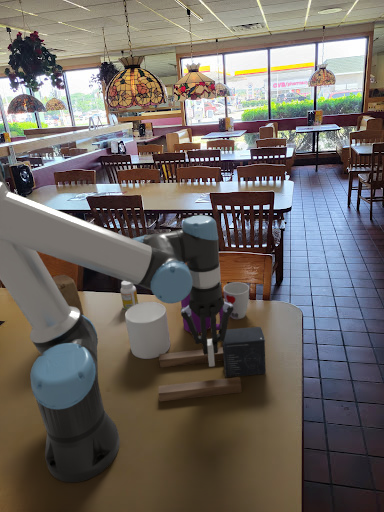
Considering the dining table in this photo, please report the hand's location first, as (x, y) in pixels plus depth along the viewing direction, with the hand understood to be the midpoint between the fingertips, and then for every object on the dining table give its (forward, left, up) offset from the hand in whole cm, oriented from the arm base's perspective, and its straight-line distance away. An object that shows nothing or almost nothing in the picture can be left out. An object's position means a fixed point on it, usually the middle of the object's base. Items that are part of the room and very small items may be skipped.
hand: (211, 362), depth 98 cm
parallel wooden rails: (0, +4, -4) cm, 5 cm away
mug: (+21, 0, -4) cm, 21 cm away
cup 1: (+15, +17, -4) cm, 23 cm away
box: (+1, -9, -4) cm, 9 cm away
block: (+26, +43, -4) cm, 50 cm away
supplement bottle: (+40, +25, -4) cm, 47 cm away
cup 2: (+27, -11, -4) cm, 29 cm away
